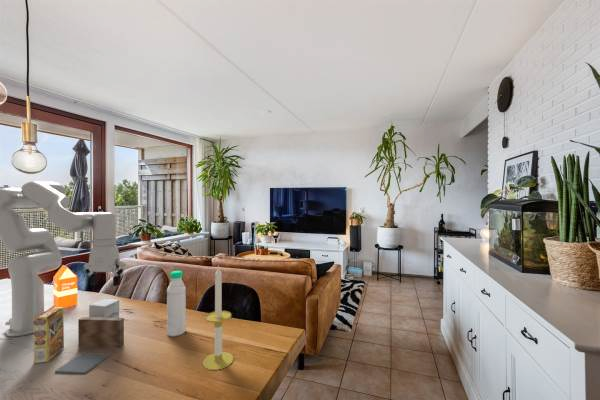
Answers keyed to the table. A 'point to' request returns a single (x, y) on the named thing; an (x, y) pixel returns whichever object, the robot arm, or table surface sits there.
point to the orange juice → (65, 288)
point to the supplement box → (105, 309)
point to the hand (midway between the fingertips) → (105, 285)
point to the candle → (218, 329)
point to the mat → (82, 363)
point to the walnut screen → (101, 332)
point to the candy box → (48, 334)
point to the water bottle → (176, 305)
